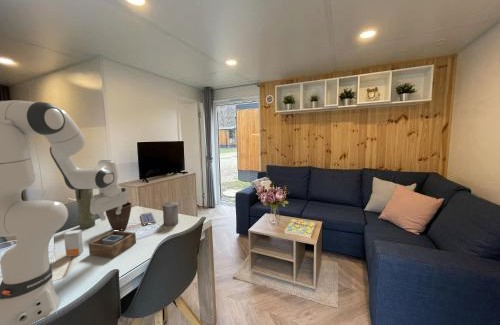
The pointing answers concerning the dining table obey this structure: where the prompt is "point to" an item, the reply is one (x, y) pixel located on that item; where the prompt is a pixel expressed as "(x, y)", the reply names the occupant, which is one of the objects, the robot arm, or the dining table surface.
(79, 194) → the thermos
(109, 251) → the big crate
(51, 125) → the robot arm
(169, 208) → the pillar candle
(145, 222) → the solar panel
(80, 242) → the skincare box
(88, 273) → the dining table surface
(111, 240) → the box
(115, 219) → the plant pot
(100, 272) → the dining table surface
